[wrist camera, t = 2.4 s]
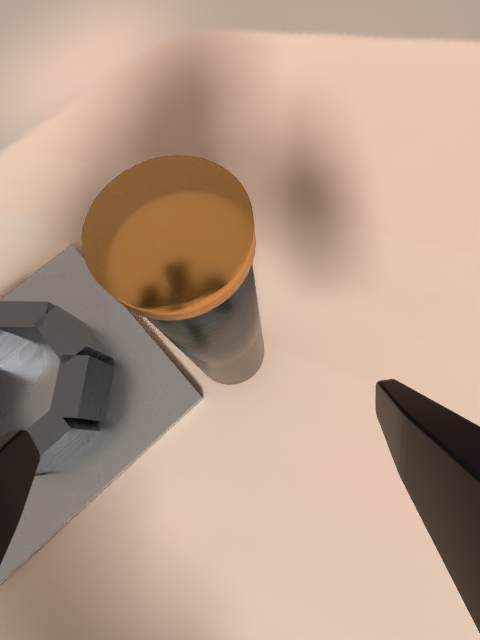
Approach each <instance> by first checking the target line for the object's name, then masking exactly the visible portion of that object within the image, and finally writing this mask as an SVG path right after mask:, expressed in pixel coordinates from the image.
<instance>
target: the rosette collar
mask: <svg viewBox="0 0 480 640" xmlns="http://www.w3.org/2000/svg"><path fill="white" fill-rule="evenodd" d="M202 399H203V397H202V396H201V395H200V394H199V392H198V391H197V390H196V389H195V388H194V386H193V385H192V384H191V383H190V382H189V381H188V379H187V378H186V377H185V376H184V375H183V374H182V372H181V371H180V370H179V369H178V368H177V367H176V365H175V364H174V363H173V362H172V361H171V360H170V358H169V357H168V356H167V355H166V354H165V352H164V351H163V350H162V349H161V348H160V347H159V345H158V344H157V343H156V342H155V341H154V340H153V338H152V337H151V336H150V335H149V334H148V333H147V331H146V330H145V329H144V328H143V327H142V325H141V324H140V323H139V322H138V321H137V320H136V318H135V317H134V316H133V315H132V314H131V313H130V311H129V310H128V309H127V308H126V307H124V306H123V305H122V304H120V303H119V302H118V301H117V300H116V299H115V298H113V297H112V296H111V295H110V294H109V293H108V292H107V291H106V290H104V289H103V288H102V287H101V286H100V285H99V284H98V283H97V282H96V280H95V279H94V278H93V276H92V275H91V273H90V271H89V269H88V267H87V265H86V263H85V259H84V257H83V256H82V255H81V254H80V253H79V252H78V250H77V249H76V248H75V247H74V246H73V245H70V246H69V247H68V248H66V249H65V250H64V251H63V252H61V253H60V254H59V255H57V256H56V257H55V258H53V259H52V260H51V261H50V262H48V263H47V264H46V265H44V266H43V267H42V268H41V269H39V270H38V271H37V272H35V273H34V274H33V275H32V276H30V277H29V278H28V279H26V280H25V281H24V282H23V283H21V284H20V285H19V286H17V287H16V288H15V289H13V290H12V291H11V292H10V293H8V294H7V295H6V296H4V297H3V298H2V299H1V300H0V437H1V436H2V435H4V434H5V433H7V432H9V431H15V430H26V431H28V432H29V434H30V435H31V437H32V439H33V441H34V443H35V445H36V446H37V448H38V450H39V452H40V462H39V465H38V468H37V471H36V474H35V477H34V480H33V483H32V486H31V489H30V492H29V495H28V498H27V501H26V504H25V507H24V510H23V513H22V516H21V519H20V521H19V524H18V526H17V529H16V531H15V533H14V535H13V538H12V540H11V542H10V545H9V547H8V549H7V552H6V554H5V556H4V558H3V561H2V563H1V565H0V585H1V584H2V583H3V582H4V581H5V580H6V579H7V578H8V577H9V576H10V575H11V574H13V573H14V572H15V571H16V570H17V569H18V568H19V567H20V566H21V565H22V564H23V563H25V562H26V561H27V560H28V559H29V558H30V557H31V556H32V555H33V554H34V553H35V552H37V551H38V550H39V549H40V548H41V547H42V546H43V545H44V544H45V543H46V542H47V541H49V540H50V539H51V538H52V537H53V536H54V535H55V534H56V533H57V532H58V531H59V530H60V529H62V528H63V527H64V526H65V525H66V524H67V523H68V522H69V521H70V520H71V519H72V518H74V517H75V516H76V515H77V514H78V513H79V512H80V511H81V510H82V509H83V508H84V507H86V506H87V505H88V504H89V503H90V502H91V501H92V500H93V499H94V498H95V497H96V496H98V495H99V494H100V493H101V492H102V491H103V490H104V489H105V488H106V487H107V486H108V485H109V484H111V483H112V482H113V481H114V480H115V479H116V478H117V477H118V476H119V475H120V474H121V473H123V472H124V471H125V470H126V469H127V468H128V467H129V466H130V465H131V464H132V463H133V462H135V461H136V460H137V459H138V458H139V457H140V456H141V455H142V454H143V453H144V452H145V451H147V450H148V449H149V448H150V447H151V446H152V445H153V444H154V443H155V442H156V441H157V440H158V439H160V438H161V437H162V436H163V435H164V434H165V433H166V432H167V431H168V430H169V429H170V428H172V427H173V426H174V425H175V424H176V423H177V422H178V421H179V420H180V419H181V418H182V417H184V416H185V415H186V414H187V413H188V412H189V411H190V410H191V409H192V408H193V407H194V406H196V405H197V404H198V403H199V402H200V401H201V400H202Z"/></svg>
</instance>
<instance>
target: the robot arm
mask: <svg viewBox="0 0 480 640" xmlns="http://www.w3.org/2000/svg"><path fill="white" fill-rule="evenodd" d="M376 414H377V417H378V420H379V423H380V425H381V428H382V431H383V433H384V436H385V439H386V441H387V444H388V447H389V449H390V452H391V455H392V457H393V460H394V463H395V465H396V468H397V470H398V473H399V475H400V477H401V479H402V481H403V483H404V485H405V487H406V489H407V491H408V493H409V495H410V497H411V499H412V501H413V503H414V505H415V507H416V509H417V511H418V513H419V515H420V517H421V519H422V521H423V523H424V525H425V527H426V529H427V531H428V533H429V534H430V536H431V538H432V540H433V542H434V544H435V546H436V548H437V550H438V552H439V554H440V556H441V558H442V560H443V562H444V564H445V566H446V568H447V570H448V572H449V574H450V576H451V578H452V580H453V582H454V584H455V585H456V587H457V589H458V591H459V593H460V595H461V597H462V599H463V601H464V603H465V605H466V607H467V609H468V611H469V613H470V615H471V617H472V619H473V621H474V623H475V625H476V627H477V629H478V631H479V633H480V426H478V425H476V424H474V423H473V422H471V421H469V420H467V419H465V418H464V417H462V416H460V415H458V414H456V413H454V412H453V411H451V410H449V409H447V408H445V407H444V406H442V405H440V404H438V403H436V402H435V401H433V400H431V399H429V398H427V397H426V396H424V395H422V394H420V393H418V392H417V391H415V390H413V389H411V388H409V387H408V386H406V385H404V384H402V383H400V382H399V381H397V380H395V379H389V380H381V381H378V382H377V383H376ZM39 462H40V452H39V450H38V448H37V446H36V445H35V443H34V441H33V439H32V437H31V435H30V434H29V432H28V431H26V430H15V431H9V432H7V433H5V434H4V435H2V436H1V437H0V565H1V563H2V561H3V558H4V556H5V554H6V552H7V549H8V547H9V545H10V542H11V540H12V538H13V535H14V533H15V531H16V529H17V526H18V524H19V521H20V519H21V516H22V513H23V510H24V507H25V504H26V501H27V498H28V495H29V492H30V489H31V486H32V483H33V480H34V477H35V474H36V471H37V468H38V465H39Z"/></svg>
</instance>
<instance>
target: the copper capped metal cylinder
mask: <svg viewBox="0 0 480 640" xmlns="http://www.w3.org/2000/svg"><path fill="white" fill-rule="evenodd" d="M255 247H256V240H255V228H254V219H253V211H252V206H251V202H250V200H249V197H248V195H247V193H246V191H245V189H244V187H243V186H242V185H241V183H240V182H239V181H238V179H237V178H236V177H235V176H233V175H232V174H231V173H230V172H229V171H227V170H226V169H225V168H223V167H221V166H220V165H218V164H216V163H214V162H211V161H208V160H206V159H202V158H198V157H192V156H165V157H160V158H155V159H152V160H148V161H145V162H143V163H140V164H138V165H135V166H134V167H132V168H130V169H128V170H126V171H125V172H123V173H122V174H120V175H119V176H117V177H116V178H115V179H114V180H112V181H111V182H110V183H109V184H108V185H107V186H106V187H105V188H104V189H103V190H102V191H101V193H100V194H99V195H98V196H97V198H96V199H95V201H94V202H93V204H92V206H91V207H90V210H89V212H88V214H87V216H86V219H85V223H84V226H83V233H82V250H83V256H84V259H85V263H86V265H87V267H88V269H89V271H90V273H91V275H92V276H93V278H94V279H95V280H96V282H97V283H98V284H99V285H100V286H101V287H102V288H103V289H104V290H106V291H107V292H108V293H109V294H110V295H111V296H112V297H113V298H115V299H116V300H117V301H118V302H119V303H120V304H122V305H123V306H124V307H126V308H127V309H128V310H130V311H132V312H134V313H136V314H138V315H141V316H143V317H146V318H147V319H148V320H149V321H150V322H151V323H152V324H153V325H155V326H156V327H157V328H158V329H159V330H160V331H161V332H162V333H163V334H164V335H165V336H166V337H167V338H168V339H169V340H170V341H171V342H172V343H173V344H175V345H176V346H177V347H178V348H179V349H180V350H181V351H182V352H183V353H184V354H185V355H186V356H187V357H188V358H189V359H190V360H191V361H192V362H194V363H195V364H196V365H197V366H198V367H199V368H200V369H201V370H202V371H203V372H204V373H205V374H206V375H207V376H208V377H209V378H211V379H212V380H214V381H216V382H218V383H222V384H228V385H232V384H238V383H242V382H244V381H246V380H248V379H249V378H251V377H252V376H253V375H254V374H255V373H256V372H257V371H258V369H259V368H260V366H261V364H262V361H263V358H264V343H263V337H262V330H261V323H260V316H259V309H258V302H257V295H256V288H255V281H254V274H253V267H252V263H253V259H254V255H255Z"/></svg>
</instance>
